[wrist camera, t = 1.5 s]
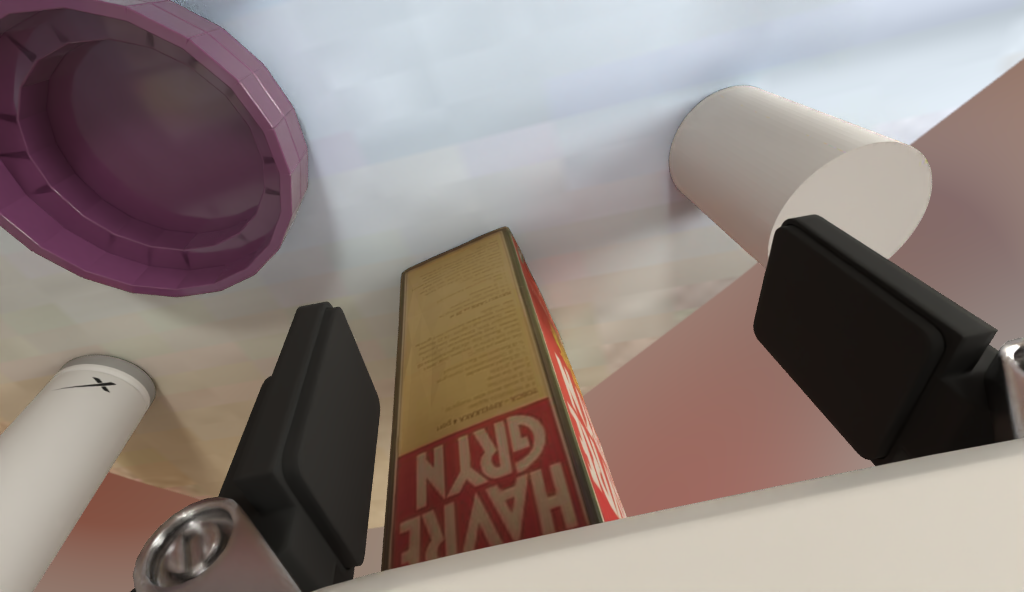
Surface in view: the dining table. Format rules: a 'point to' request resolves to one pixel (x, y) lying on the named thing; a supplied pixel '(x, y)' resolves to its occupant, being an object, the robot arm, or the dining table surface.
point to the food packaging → (485, 413)
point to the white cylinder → (795, 171)
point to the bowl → (143, 145)
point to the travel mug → (62, 459)
